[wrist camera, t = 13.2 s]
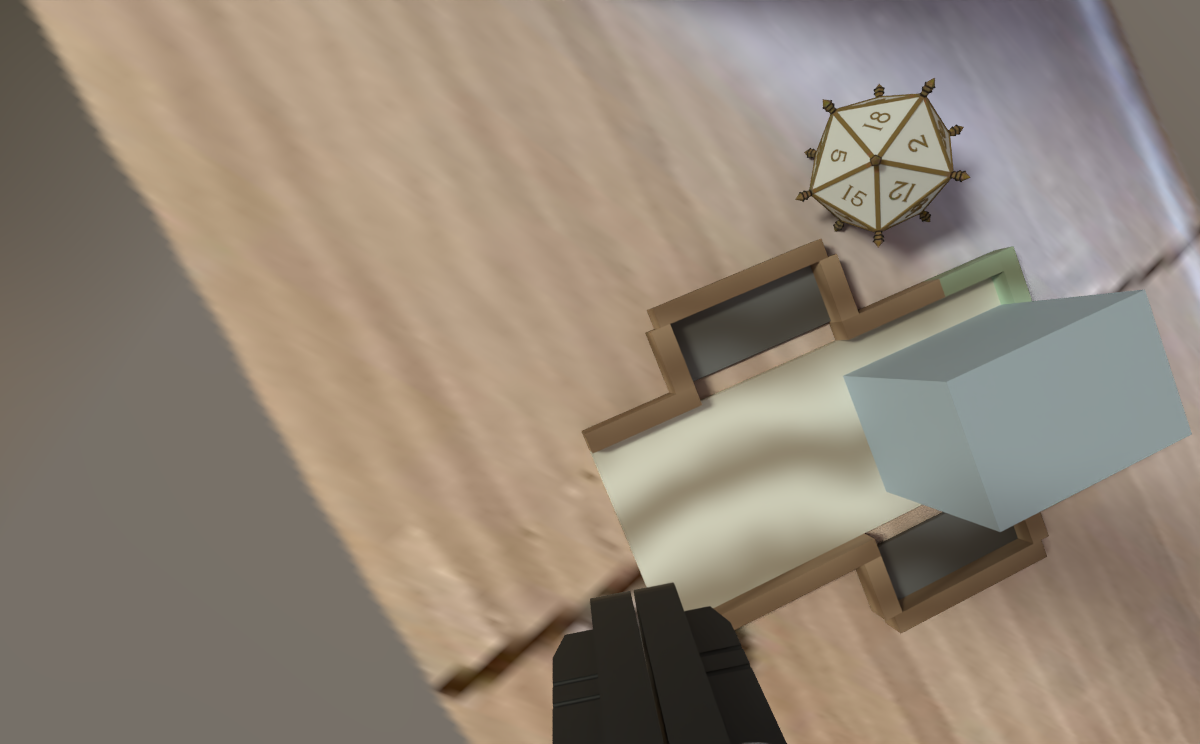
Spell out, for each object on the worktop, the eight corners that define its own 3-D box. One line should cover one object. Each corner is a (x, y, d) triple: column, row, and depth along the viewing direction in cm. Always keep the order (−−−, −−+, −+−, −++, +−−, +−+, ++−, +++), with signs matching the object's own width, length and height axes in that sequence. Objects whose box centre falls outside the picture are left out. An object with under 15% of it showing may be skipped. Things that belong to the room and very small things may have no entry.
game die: (803, 170, 42) (885, 17, 34) (916, 233, 40) (1031, 88, 32) (745, 229, 36) (826, 66, 29) (872, 305, 35) (996, 153, 27)
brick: (843, 375, 38) (946, 382, 29) (1000, 304, 40) (1144, 289, 31) (886, 491, 39) (1000, 532, 30) (1039, 417, 40) (1191, 434, 31)
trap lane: (548, 351, 35) (550, 351, 34) (968, 176, 39) (986, 169, 38) (702, 718, 38) (710, 733, 36) (1087, 517, 41) (1108, 524, 40)
